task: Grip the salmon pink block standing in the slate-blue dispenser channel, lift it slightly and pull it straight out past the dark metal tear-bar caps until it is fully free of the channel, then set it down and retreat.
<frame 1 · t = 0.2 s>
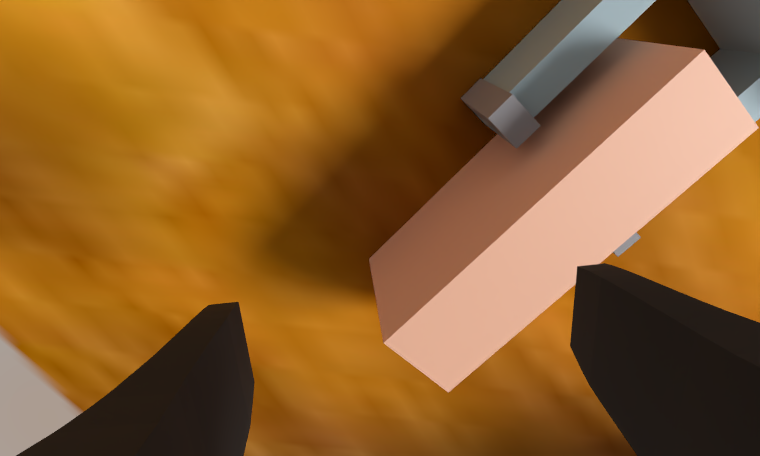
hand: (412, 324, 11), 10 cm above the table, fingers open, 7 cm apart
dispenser: (601, 85, 20), on the table
salmon pink block: (499, 178, 21), on the table
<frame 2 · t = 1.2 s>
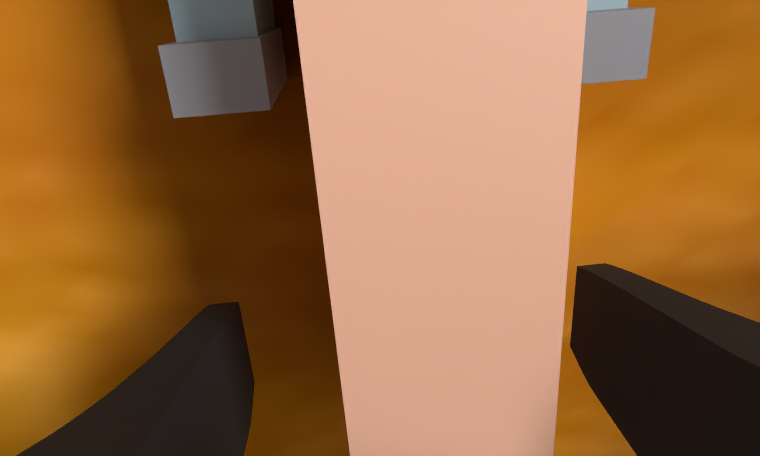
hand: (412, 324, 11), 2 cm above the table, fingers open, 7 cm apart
salmon pink block: (391, 115, 12), on the table
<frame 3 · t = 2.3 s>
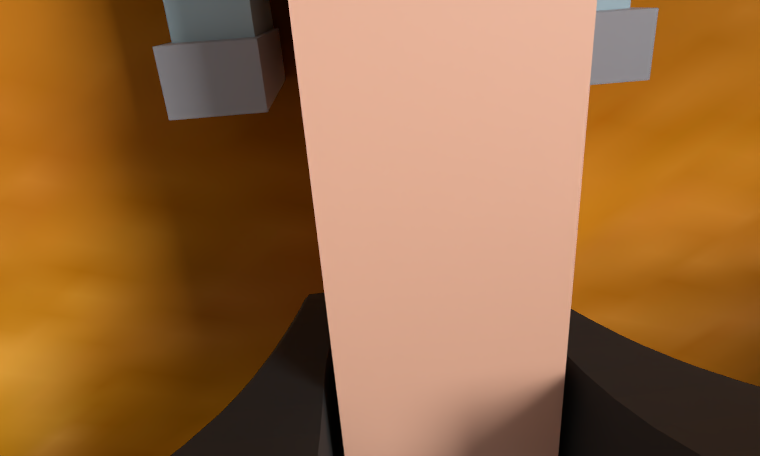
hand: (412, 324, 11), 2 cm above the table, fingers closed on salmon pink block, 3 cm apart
salmon pink block: (391, 117, 12), on the table, touching gripper
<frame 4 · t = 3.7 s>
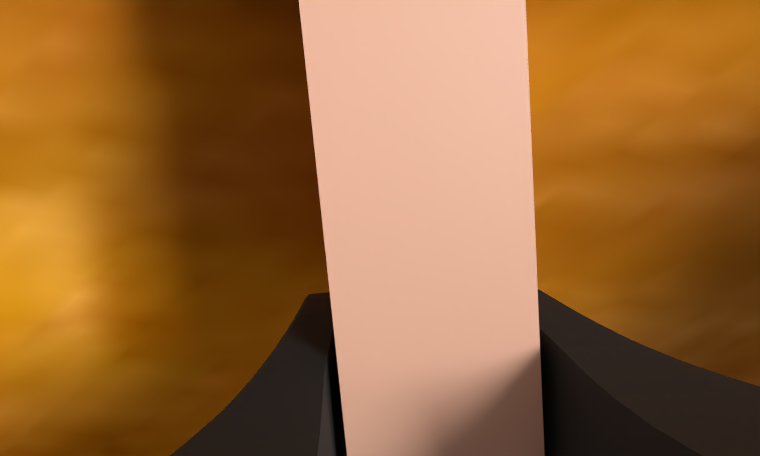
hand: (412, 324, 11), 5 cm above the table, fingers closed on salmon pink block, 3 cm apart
salmon pink block: (386, 134, 13), point 1 cm above the table, tilted 14°, touching gripper
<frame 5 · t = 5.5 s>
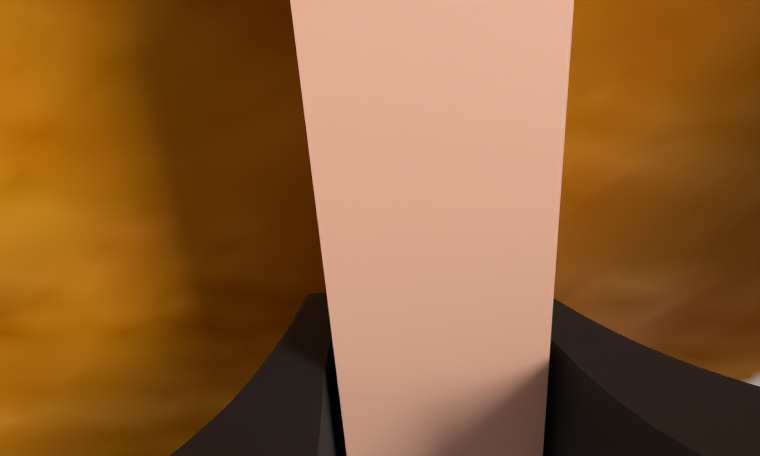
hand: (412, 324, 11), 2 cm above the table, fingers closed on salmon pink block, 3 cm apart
salmon pink block: (388, 112, 12), on the table, touching gripper
when the fingers open (2 cm above the table, at t = 6.0 s): salmon pink block stays where it is, on the table.
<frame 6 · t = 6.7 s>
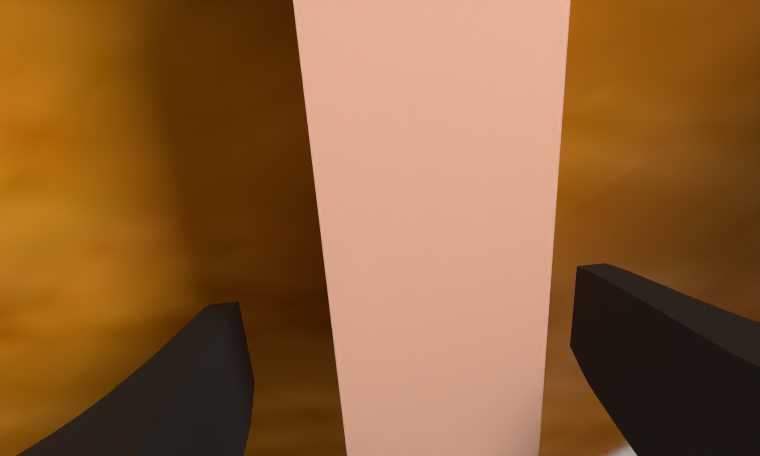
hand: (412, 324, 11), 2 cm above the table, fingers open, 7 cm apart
salmon pink block: (387, 111, 12), on the table
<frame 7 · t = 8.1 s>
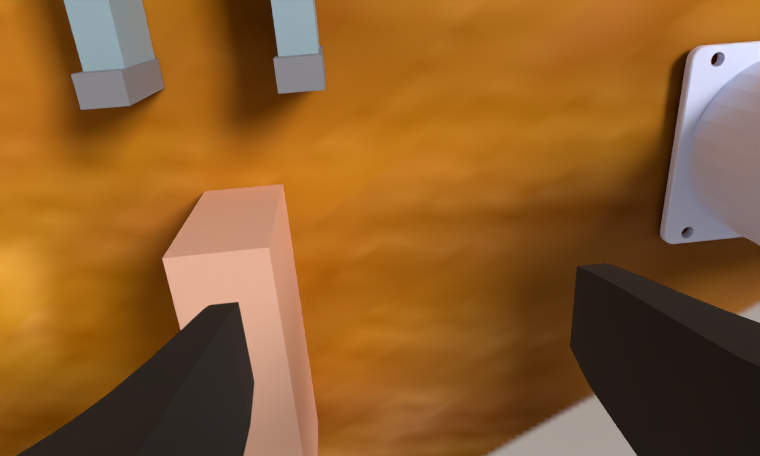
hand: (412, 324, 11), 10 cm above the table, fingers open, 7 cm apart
salmon pink block: (267, 318, 23), on the table
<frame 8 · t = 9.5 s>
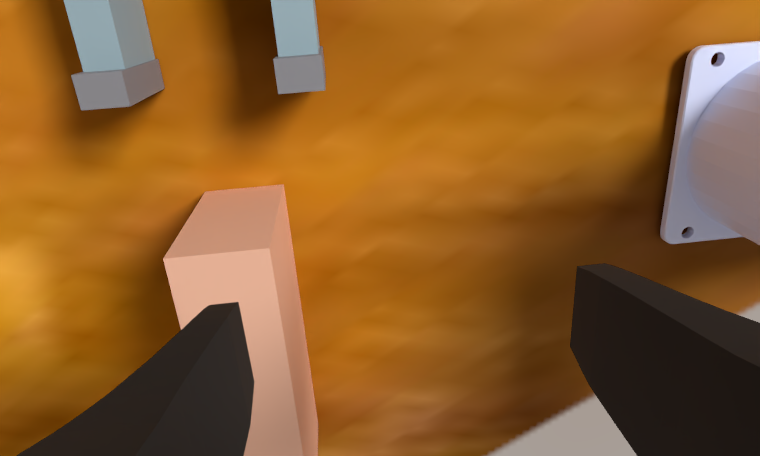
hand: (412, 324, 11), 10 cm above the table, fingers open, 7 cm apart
salmon pink block: (268, 318, 23), on the table
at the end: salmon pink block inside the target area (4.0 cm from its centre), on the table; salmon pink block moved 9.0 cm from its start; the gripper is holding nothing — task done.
